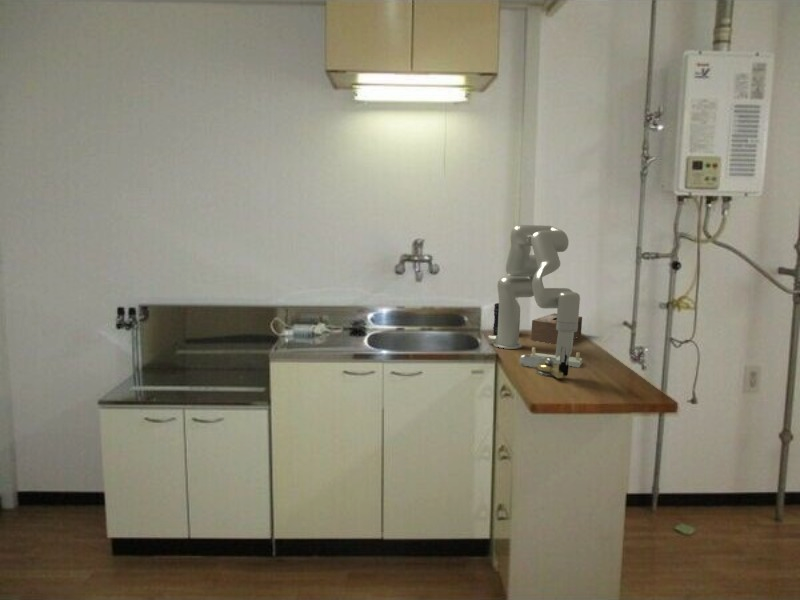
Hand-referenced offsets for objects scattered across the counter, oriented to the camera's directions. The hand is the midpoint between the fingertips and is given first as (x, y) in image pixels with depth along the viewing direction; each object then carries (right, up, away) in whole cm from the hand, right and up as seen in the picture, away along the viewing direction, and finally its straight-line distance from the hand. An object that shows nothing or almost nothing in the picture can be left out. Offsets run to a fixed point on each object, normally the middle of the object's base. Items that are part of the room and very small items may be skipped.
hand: (563, 374), depth 225 cm
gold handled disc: (-3, 0, +3) cm, 4 cm away
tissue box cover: (+15, +8, +69) cm, 71 cm away
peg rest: (+3, +2, +23) cm, 23 cm away
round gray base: (-4, 0, +6) cm, 7 cm away
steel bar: (-6, +1, +15) cm, 16 cm away
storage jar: (-9, +10, +75) cm, 76 cm away
